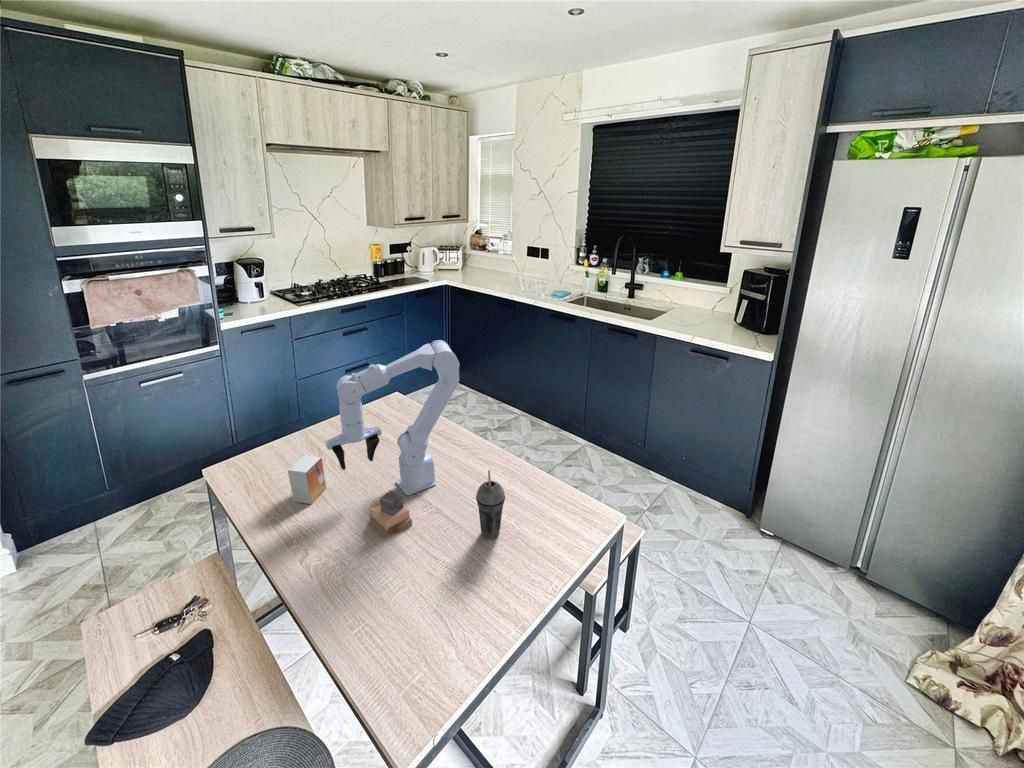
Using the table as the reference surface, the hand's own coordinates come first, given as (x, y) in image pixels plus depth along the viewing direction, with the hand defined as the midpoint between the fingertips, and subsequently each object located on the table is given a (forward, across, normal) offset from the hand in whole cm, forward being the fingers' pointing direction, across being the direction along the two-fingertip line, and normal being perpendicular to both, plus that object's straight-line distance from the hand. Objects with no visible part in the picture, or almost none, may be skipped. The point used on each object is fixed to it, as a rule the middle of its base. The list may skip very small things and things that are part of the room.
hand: (356, 463), depth 136 cm
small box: (+11, +12, -8) cm, 18 cm away
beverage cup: (+10, -22, +34) cm, 42 cm away
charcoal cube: (+6, -3, +16) cm, 18 cm away
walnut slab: (+11, -2, +16) cm, 20 cm away
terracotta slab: (+8, -2, +16) cm, 18 cm away
